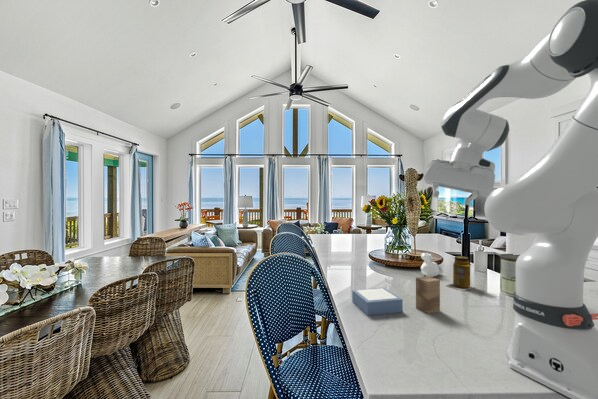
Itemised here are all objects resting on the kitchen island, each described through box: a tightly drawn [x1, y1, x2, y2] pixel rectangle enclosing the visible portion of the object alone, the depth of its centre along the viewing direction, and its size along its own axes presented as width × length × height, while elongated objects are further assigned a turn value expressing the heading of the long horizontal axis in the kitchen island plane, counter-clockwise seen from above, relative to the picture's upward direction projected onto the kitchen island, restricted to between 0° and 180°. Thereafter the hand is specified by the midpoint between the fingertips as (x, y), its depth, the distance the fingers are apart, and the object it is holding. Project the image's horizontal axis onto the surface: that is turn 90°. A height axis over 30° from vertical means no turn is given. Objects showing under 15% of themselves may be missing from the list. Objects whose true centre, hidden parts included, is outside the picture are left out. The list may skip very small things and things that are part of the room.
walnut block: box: [415, 275, 441, 315], centre depth 92 cm, size 5×5×10 cm
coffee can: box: [499, 253, 521, 298], centre depth 106 cm, size 10×10×14 cm
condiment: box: [445, 255, 475, 291], centre depth 115 cm, size 7×8×12 cm
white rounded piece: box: [420, 252, 440, 278], centre depth 133 cm, size 12×8×11 cm
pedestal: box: [351, 287, 404, 316], centre depth 95 cm, size 12×12×4 cm
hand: (450, 200), depth 92 cm, fingers open, 8 cm apart
